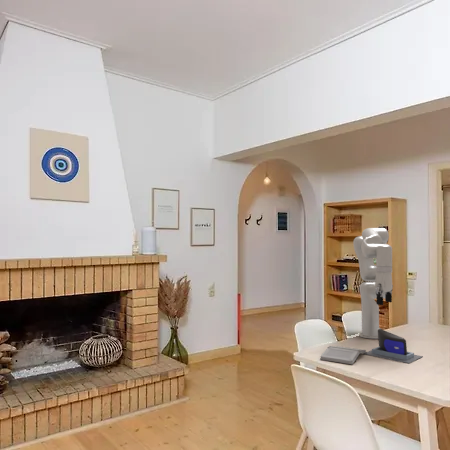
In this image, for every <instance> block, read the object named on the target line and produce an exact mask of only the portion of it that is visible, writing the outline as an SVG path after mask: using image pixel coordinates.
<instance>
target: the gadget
mask: <svg viewBox="0 0 450 450" xmlns="http://www.w3.org/2000/svg"><path fill="white" fill-rule="evenodd" d="M366 352H367V351H366V349H360V348H352V347H346V346H345V347H344V346H339V345H337V346H336V345H329V346H328V347H327V348H326V349H325V350H324V352H323V353H322V354H321V355H320V356H319V357H320V358H319V359H320V360H321V361H322V360H323V361H328V362H329V361H330V362H336V363H341V364H347V365H348V364H349V365H354V363H355V361H356V360H357V359H358V357H359V355H360V354H363V353H366Z"/></svg>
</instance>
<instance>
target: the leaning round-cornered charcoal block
mask: <svg viewBox="0 0 450 450" xmlns="http://www.w3.org/2000/svg"><path fill="white" fill-rule="evenodd" d="M377 341H378V347H380V348H381V349H382V350H383V351H387V352H392V353H397V354H402V355H407V352H408V349H407V347H408V346H407V340H406V339H405V338H404V337H403V336H399V335H396V334H394V333H391V332H389V331H386V330H384V329H382V328H381V329H378V339H377Z"/></svg>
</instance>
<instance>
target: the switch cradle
mask: <svg viewBox="0 0 450 450" xmlns="http://www.w3.org/2000/svg"><path fill="white" fill-rule="evenodd" d="M362 355H365V356H370V357H373V358H380V359H384V360H389V361H392V362H393V361H395V362H399V363H403V364H407V365H409V364H411V363H413V362H415V361H418V360H420V359H422V358H423V357H424V356H423V355H418V354H415V352H411V351H407V355H402V354H397V353H392V352H387V351H383V350H382V349H381V348H380V347H379V346H377V347H374V348H372V349H371V350H369V351H366V353H362Z"/></svg>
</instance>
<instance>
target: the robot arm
mask: <svg viewBox="0 0 450 450" xmlns="http://www.w3.org/2000/svg"><path fill="white" fill-rule="evenodd" d="M389 238H390V235H389V231H388V230H387V229H386V228H385V227H367V228H365V229H363V231H362V232H361V235H358V236H356V237H355V238H354V239H353V250H354V253H355V255H356V258H357V260H358V266H359V275H360V279H362V281H364V282H362V283H360V285H359V293H360V302H361V305H360V306H361V332H360V333H359V334H358V335H359V337H360V338H364V339H373V340H378V329H382V328H380V307H379V306H383V305H384V299H385V303H393V287H394V285H393V275H392V274H393V247H392V245H390V244H388V241H389ZM374 259H375V260H376V264H375V262H374V261H375V260H374Z"/></svg>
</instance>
